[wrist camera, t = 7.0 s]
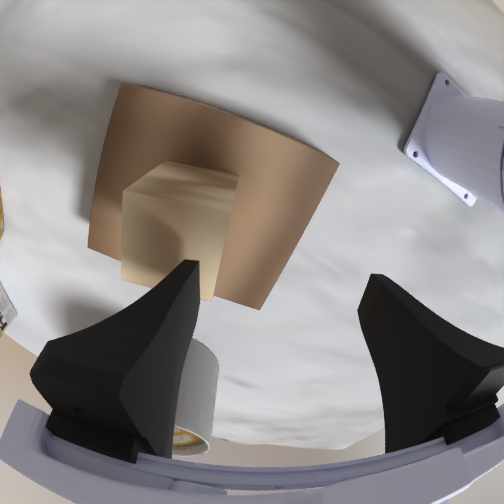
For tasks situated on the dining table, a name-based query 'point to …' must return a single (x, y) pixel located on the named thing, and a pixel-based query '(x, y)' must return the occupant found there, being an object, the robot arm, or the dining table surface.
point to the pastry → (1, 216)
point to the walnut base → (220, 159)
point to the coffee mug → (196, 402)
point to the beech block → (175, 223)
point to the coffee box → (5, 311)
